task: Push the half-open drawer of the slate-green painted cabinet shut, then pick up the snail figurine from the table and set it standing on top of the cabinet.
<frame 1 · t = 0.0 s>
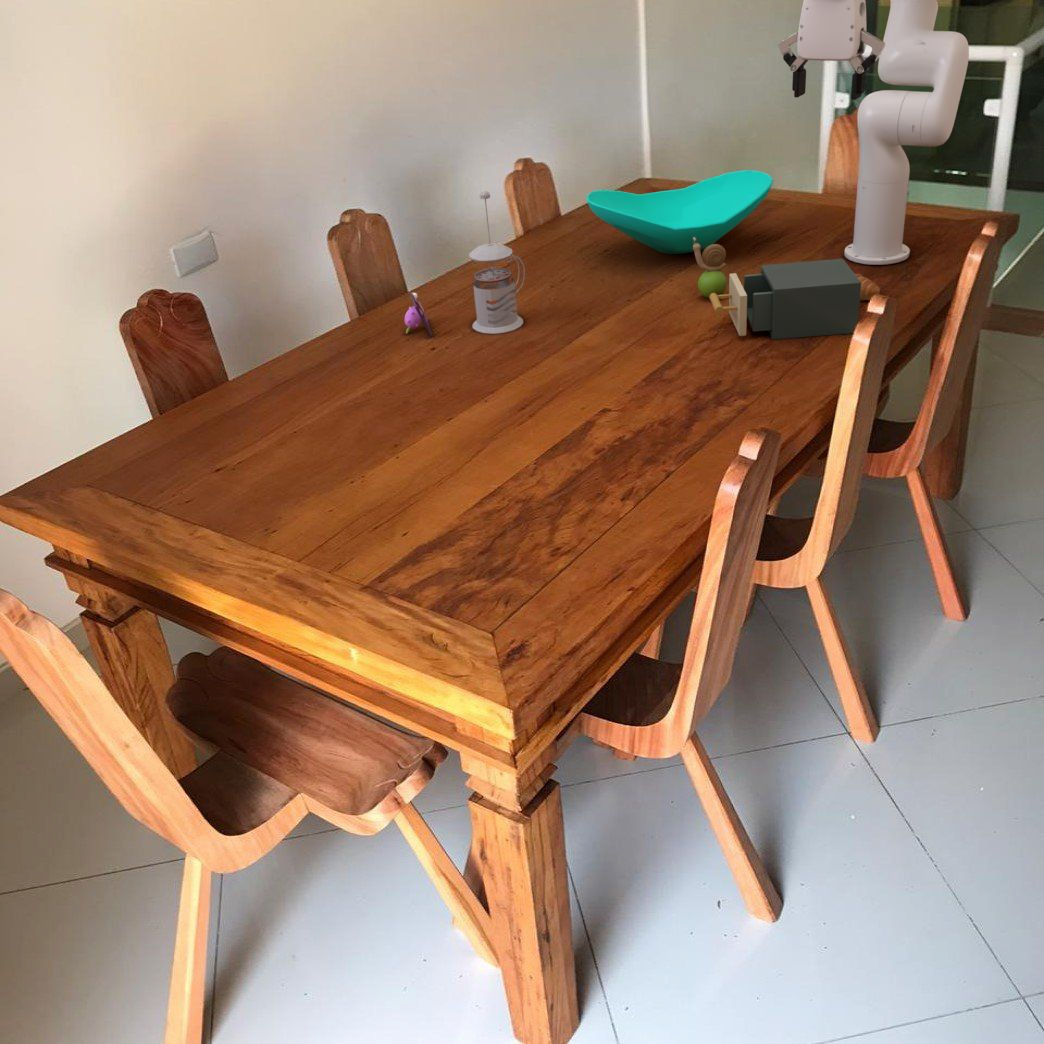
hand: (827, 96, 181), 37 cm above the table, tool pointing down, fingers open, 9 cm apart
table top decor: (680, 250, 236), on the table
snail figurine: (709, 298, 211), on the table
purple plush toy: (417, 331, 209), on the table
pastry: (851, 295, 206), on the table
cabinet: (806, 322, 197), on the table
drawer: (761, 302, 194), point 5 cm above the table, slide at 4.5 cm
french press: (501, 323, 209), on the table
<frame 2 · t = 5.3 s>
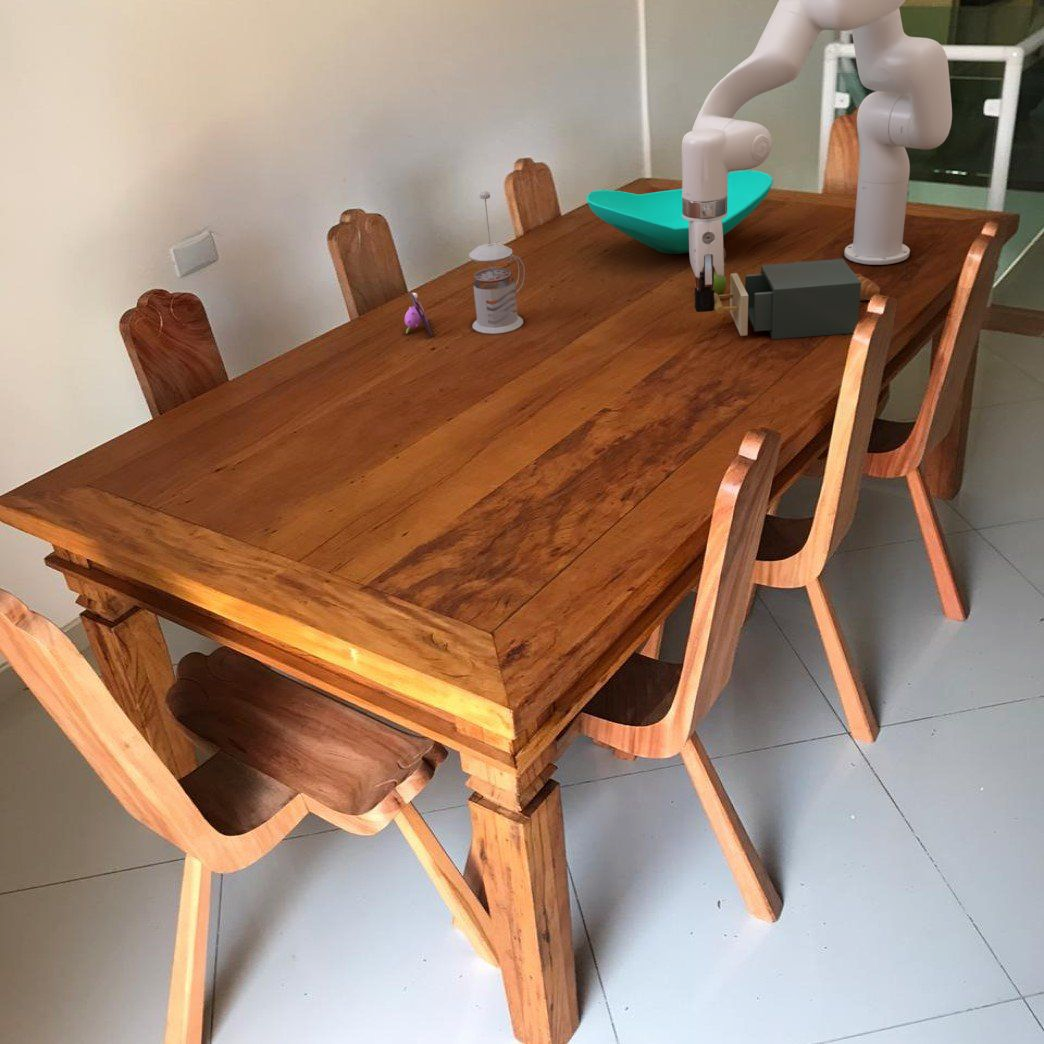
hand: (704, 309, 195), 4 cm above the table, tool pointing down, fingers closed
drawer: (762, 302, 194), point 5 cm above the table, slide at 4.3 cm, touching gripper
everything else where it was.
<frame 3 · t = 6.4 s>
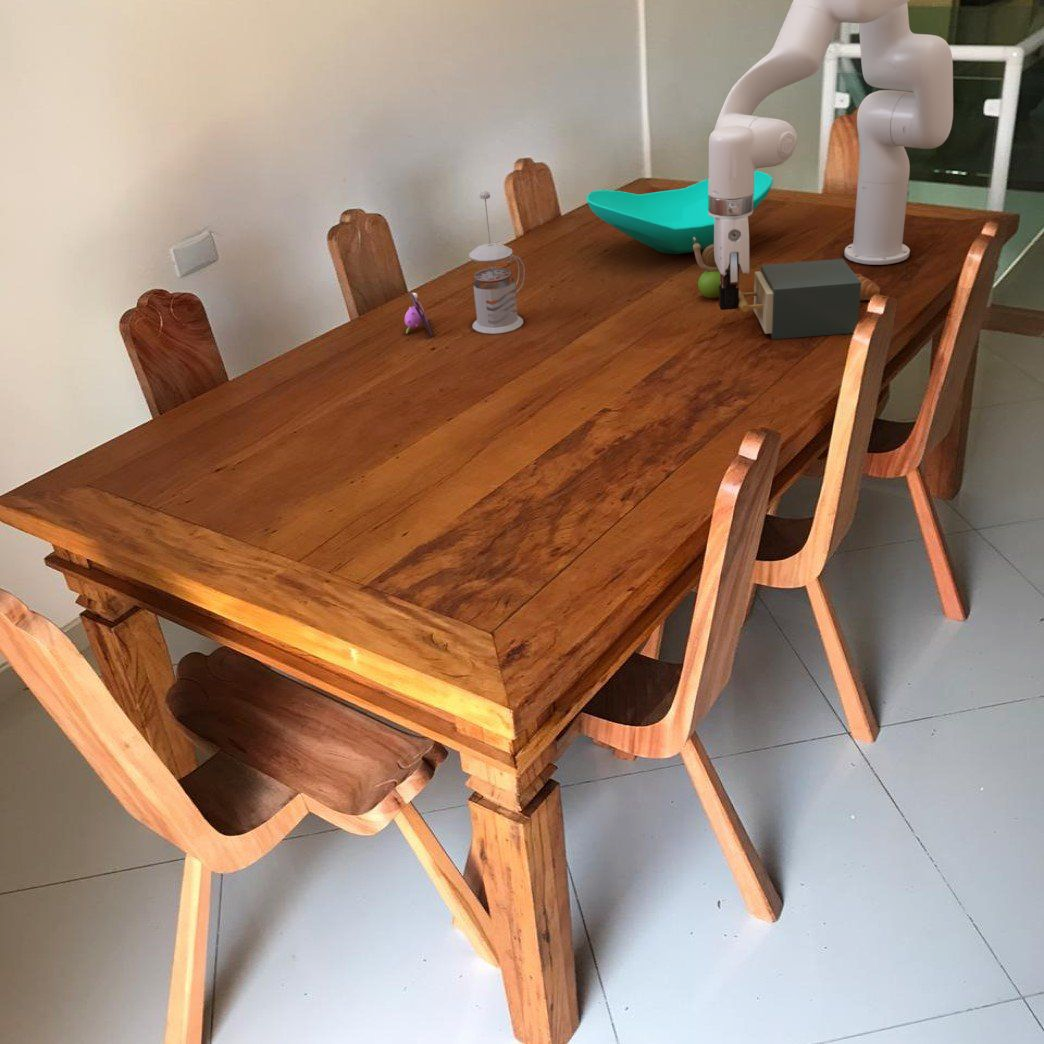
hand: (728, 307, 195), 4 cm above the table, tool pointing down, fingers closed
drawer: (787, 300, 194), point 5 cm above the table, slide at 0.0 cm, touching cabinet, gripper
everything else where it was.
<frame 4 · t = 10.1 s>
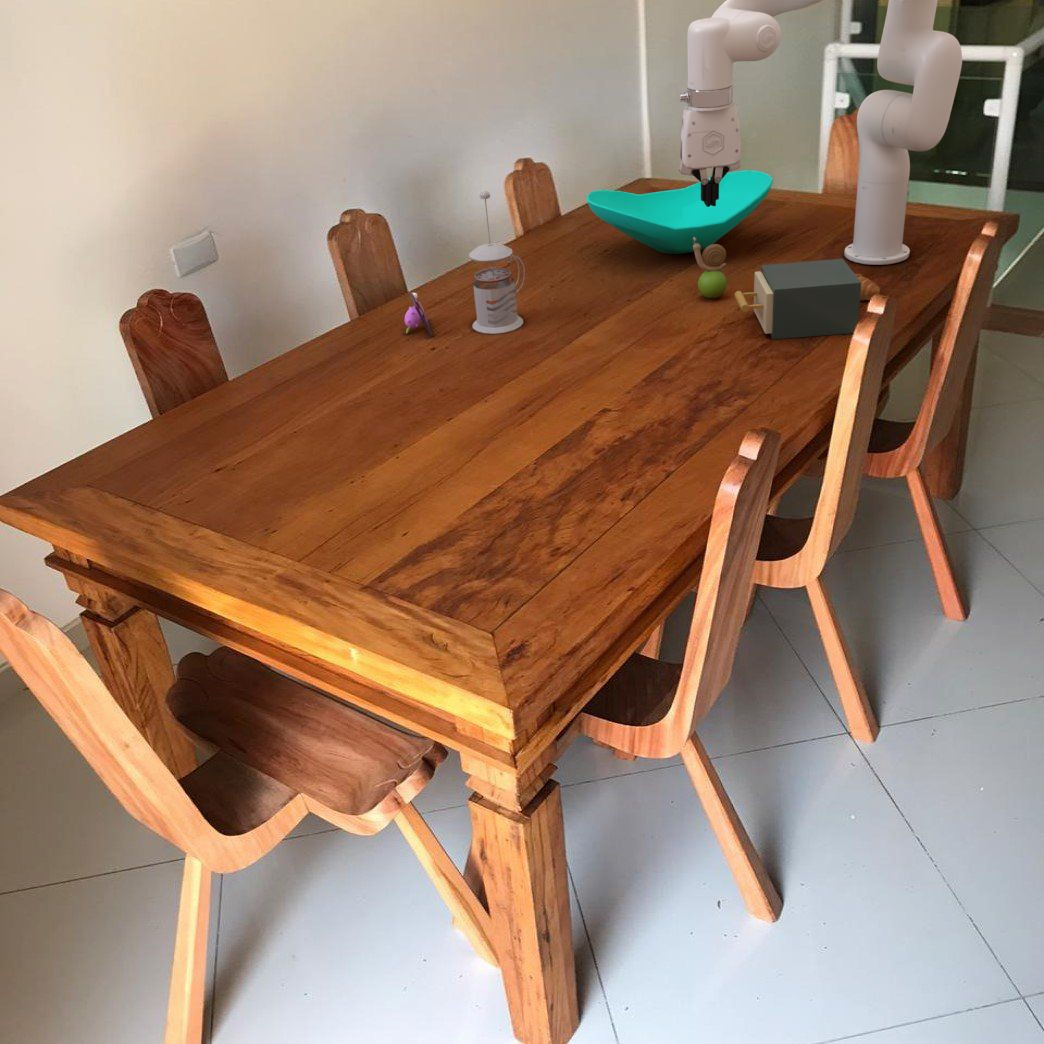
hand: (709, 204, 198), 19 cm above the table, tool pointing down, fingers closed
drawer: (787, 300, 194), point 5 cm above the table, slide at 0.0 cm
everything else where it was.
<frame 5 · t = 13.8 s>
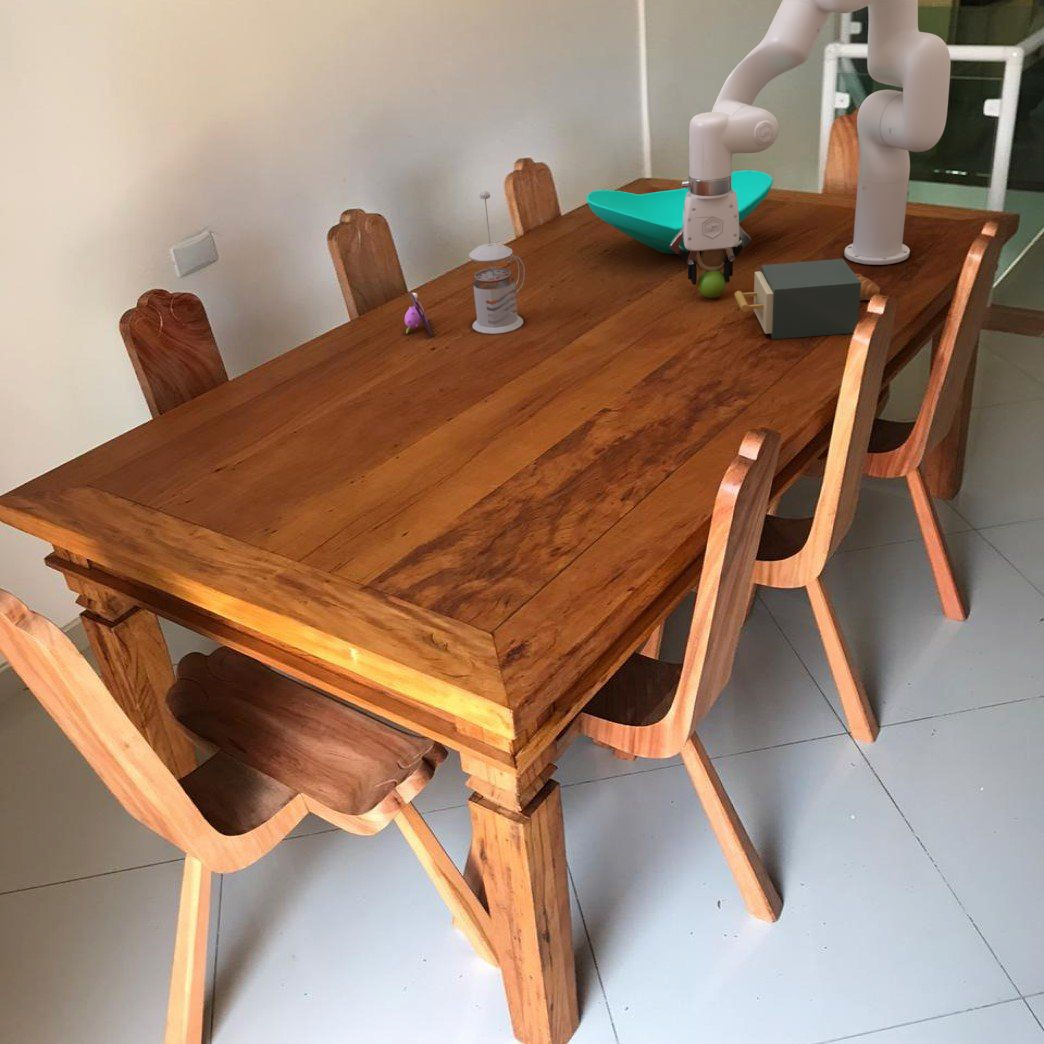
hand: (710, 280, 209), 4 cm above the table, tool pointing down, fingers closed on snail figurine, 5 cm apart
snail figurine: (709, 298, 211), on the table, touching gripper
everything else where it was.
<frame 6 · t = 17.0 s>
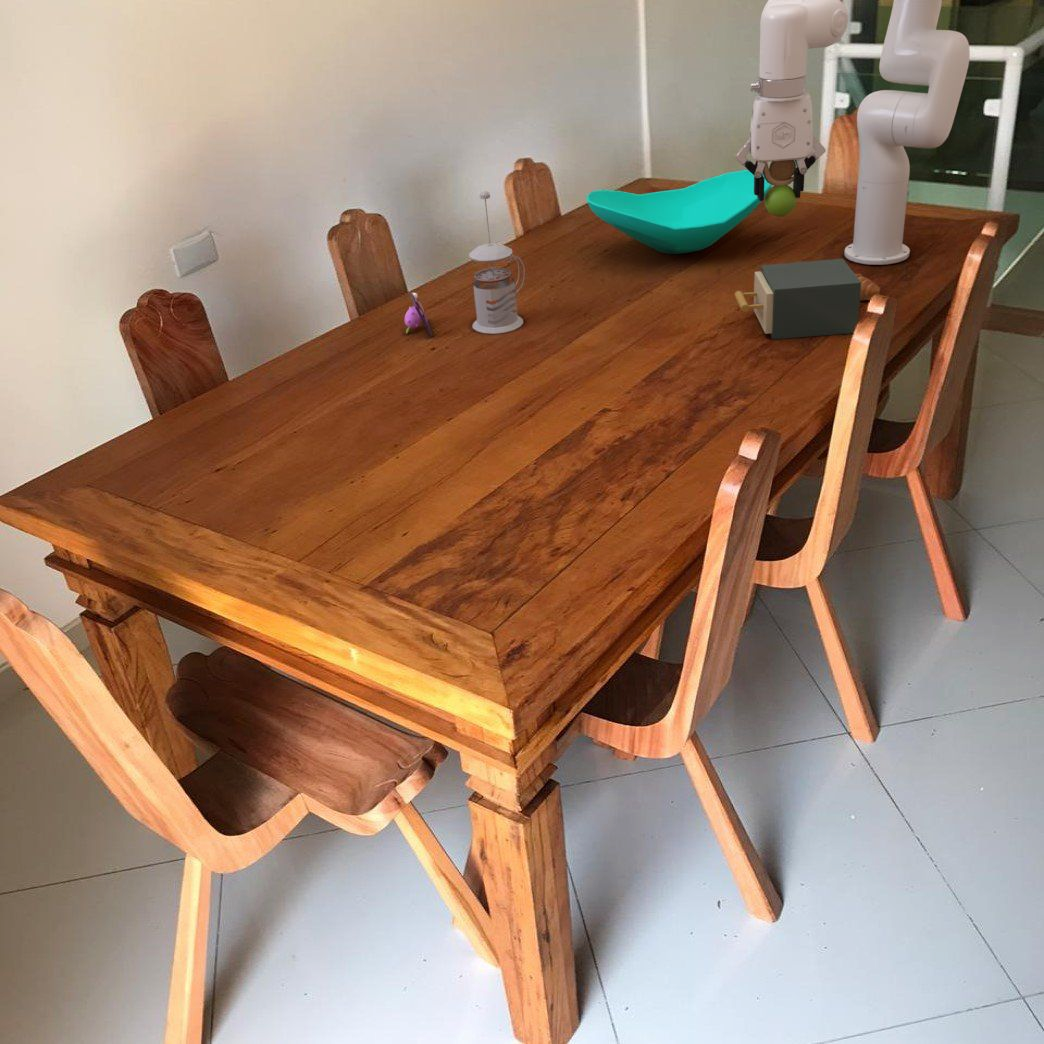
hand: (778, 196, 191), 21 cm above the table, tool pointing down, fingers closed on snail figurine, 5 cm apart
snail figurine: (777, 217, 193), point 18 cm above the table, touching gripper
everything else where it was.
when the fingers open (13 cm above the table, at t = 20.3 s): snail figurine stays where it is, resting on cabinet.
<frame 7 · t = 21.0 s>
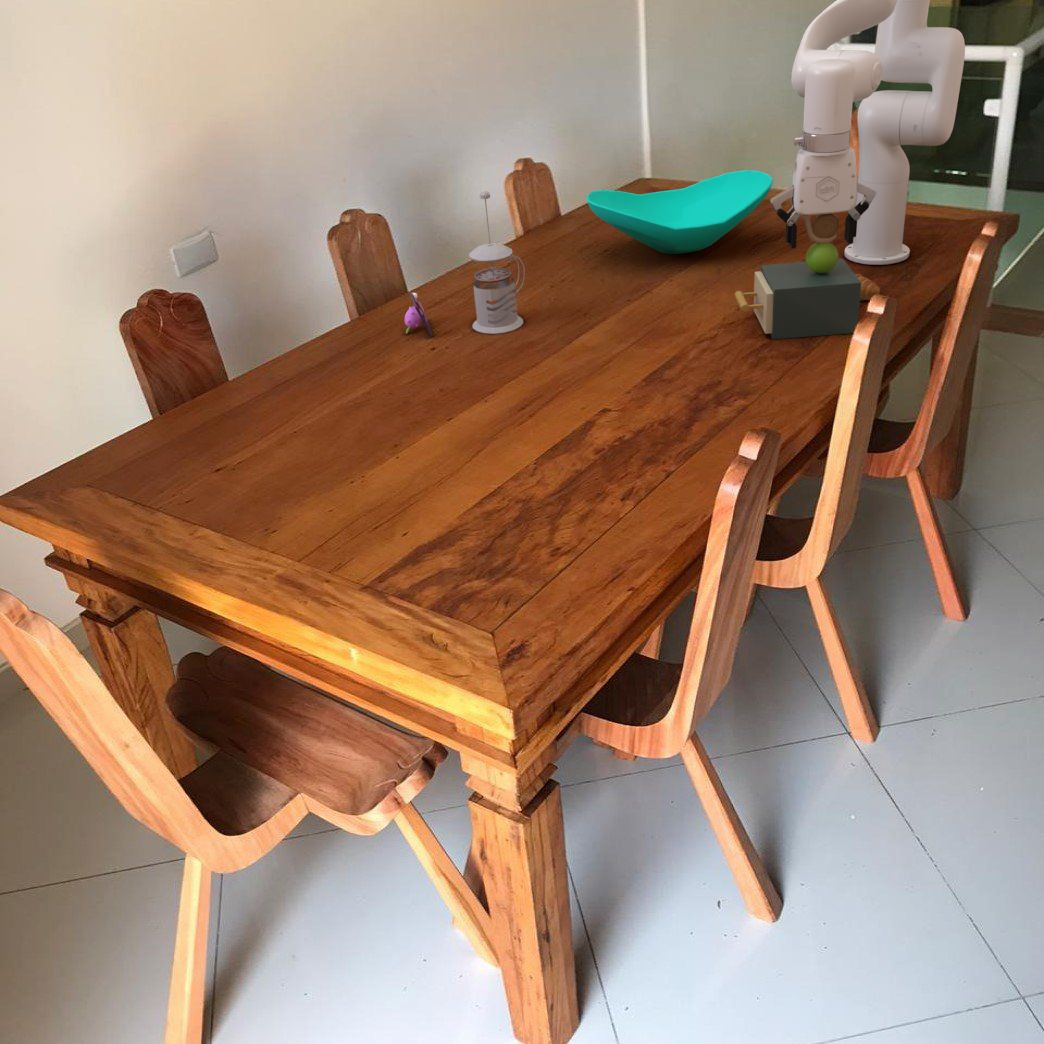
hand: (820, 243, 189), 14 cm above the table, tool pointing down, fingers open, 9 cm apart
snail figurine: (818, 273, 192), point 9 cm above the table, touching cabinet
everything else where it was.
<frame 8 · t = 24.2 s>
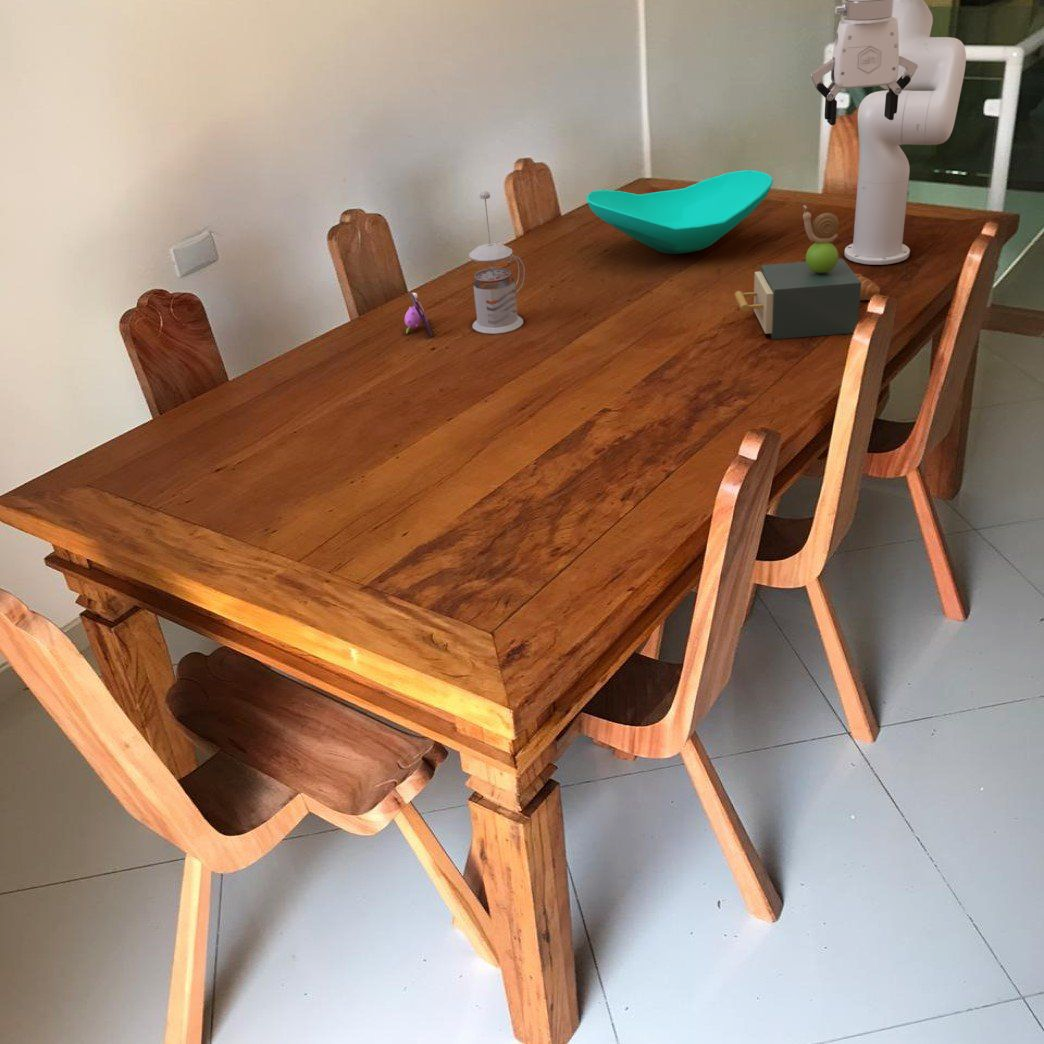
hand: (859, 120, 186), 32 cm above the table, tool pointing down, fingers open, 9 cm apart
nothing on the table moved.
at the end: drawer slide at 0.0 cm; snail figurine inside the target area on the cabinet (0.5 cm from its centre), point 8.9 cm above the cabinet's base; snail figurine tilted 0° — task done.
